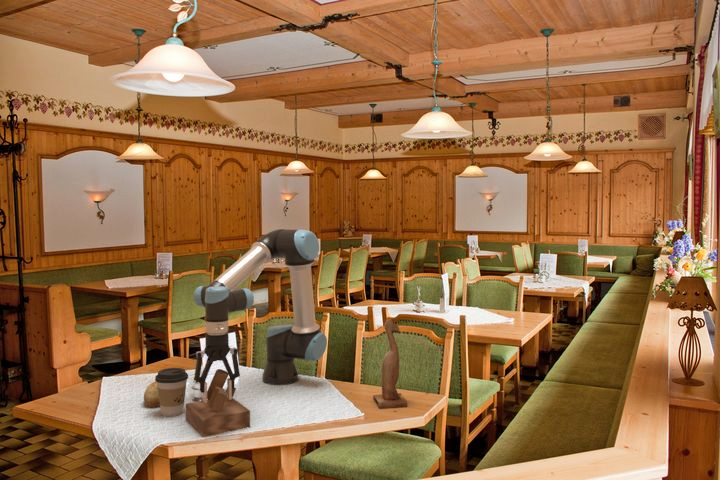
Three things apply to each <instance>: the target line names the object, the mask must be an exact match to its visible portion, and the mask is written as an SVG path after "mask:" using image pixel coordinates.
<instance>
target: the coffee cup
mask: <svg viewBox="0 0 720 480" xmlns="http://www.w3.org/2000/svg"><path fill="white" fill-rule="evenodd" d="M188 379H189V373H188V372H186V370H185V369H184V368H182V367H167V368H164V369H163V368H162V369H160V370H159V371H158V372H157V375H155V379H154V382H155V381H156V382H157V387H158V394H159V401H160V405H159V407H160V413H161V415H162V416H163V417H176V416H180V415H182V414H183V411H184V406H185V399H186V398H185V397H186V391H187V390H186V389H187V382H188V381H187V380H188Z"/></svg>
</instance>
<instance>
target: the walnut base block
mask: <svg viewBox="0 0 720 480" xmlns="http://www.w3.org/2000/svg"><path fill="white" fill-rule="evenodd" d="M209 401H210V400H208V399H207V403H205V402H204V401H203V400H199V401H193V402H188V403H185V421H186V422H187V423H188V424H189V425H190V426H191V427H192V428H193V429H194V430H195V431H196V432H197V433H198V434H199V435H200V437H202V438H206V437H210V436H215V435H219V434H223V433H224V432H225V433H229V432H228V431H230V432H234V431H239V430H242V429H243V428H244V429H247V427H249V428H251V410H250V409H248V408H247V407H246V406H245V405H243V404H242V403H241V402H239V401H238V400H237V399H235V398H234V397H232V399H230V400H229V398H228V397H226V400H225V402H224V404H223V407H222V409H221V411H220V412H218V411H215V410H213V409H211V407H212V405H209V404H208V403H209ZM238 429H239V430H238ZM244 429H243V430H244ZM225 433H224V434H225Z"/></svg>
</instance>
